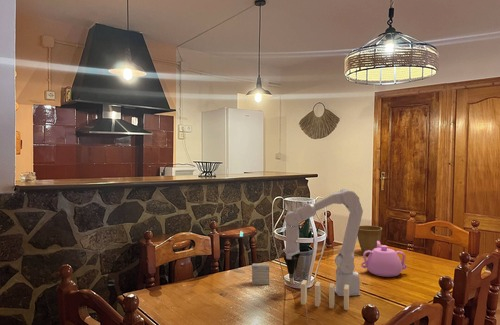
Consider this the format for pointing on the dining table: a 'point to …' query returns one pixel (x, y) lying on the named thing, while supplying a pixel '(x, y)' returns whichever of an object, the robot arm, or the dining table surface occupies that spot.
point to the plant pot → (369, 237)
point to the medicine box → (260, 274)
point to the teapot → (384, 261)
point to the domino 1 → (292, 274)
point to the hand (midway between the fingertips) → (292, 271)
